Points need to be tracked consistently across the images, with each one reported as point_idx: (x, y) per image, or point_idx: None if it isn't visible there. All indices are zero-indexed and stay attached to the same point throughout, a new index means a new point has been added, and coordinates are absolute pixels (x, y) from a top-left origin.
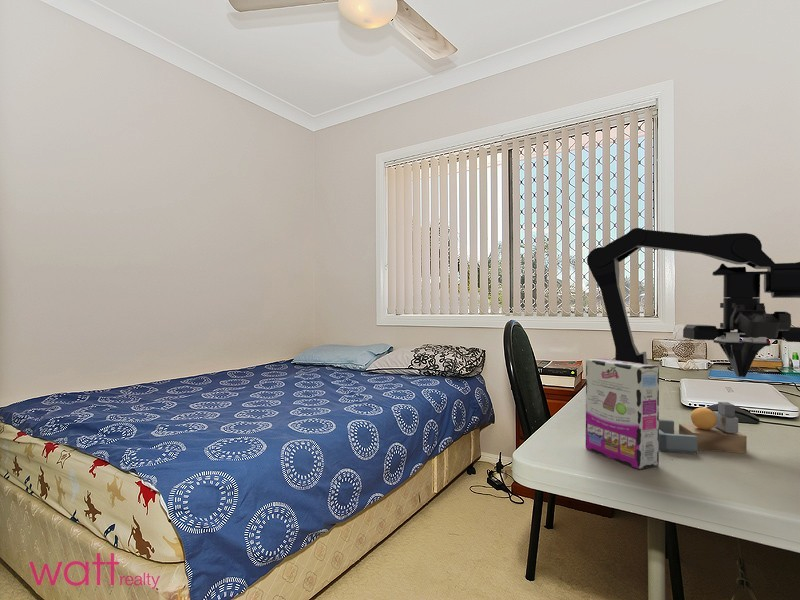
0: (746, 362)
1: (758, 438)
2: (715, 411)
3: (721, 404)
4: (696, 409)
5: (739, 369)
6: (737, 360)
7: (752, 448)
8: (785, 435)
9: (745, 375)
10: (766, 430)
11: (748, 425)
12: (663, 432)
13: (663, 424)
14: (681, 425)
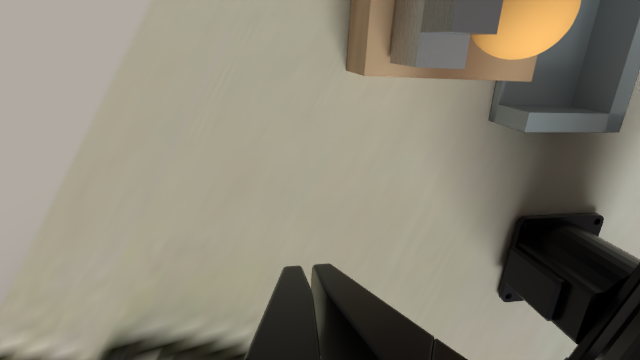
0: (314, 339)
1: (205, 149)
2: (454, 65)
3: None
4: (578, 6)
5: (352, 290)
6: (419, 343)
7: (298, 7)
8: (75, 216)
9: (285, 271)
10: (119, 265)
11: (157, 312)
12: (529, 105)
13: (550, 110)
14: (535, 58)
